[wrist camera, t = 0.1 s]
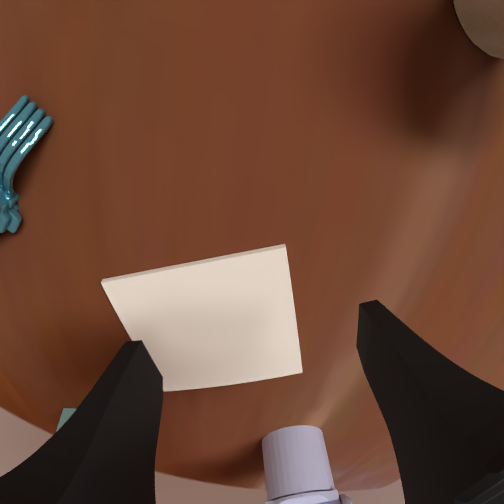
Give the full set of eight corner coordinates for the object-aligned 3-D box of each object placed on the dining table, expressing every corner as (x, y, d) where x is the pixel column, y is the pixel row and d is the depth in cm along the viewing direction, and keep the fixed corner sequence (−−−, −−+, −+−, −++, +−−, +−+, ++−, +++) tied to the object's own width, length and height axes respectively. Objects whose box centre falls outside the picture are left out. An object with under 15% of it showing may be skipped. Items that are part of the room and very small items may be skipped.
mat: (301, 368, 25) (302, 372, 24) (164, 387, 25) (164, 391, 25) (284, 244, 19) (285, 247, 18) (102, 279, 19) (100, 282, 19)
